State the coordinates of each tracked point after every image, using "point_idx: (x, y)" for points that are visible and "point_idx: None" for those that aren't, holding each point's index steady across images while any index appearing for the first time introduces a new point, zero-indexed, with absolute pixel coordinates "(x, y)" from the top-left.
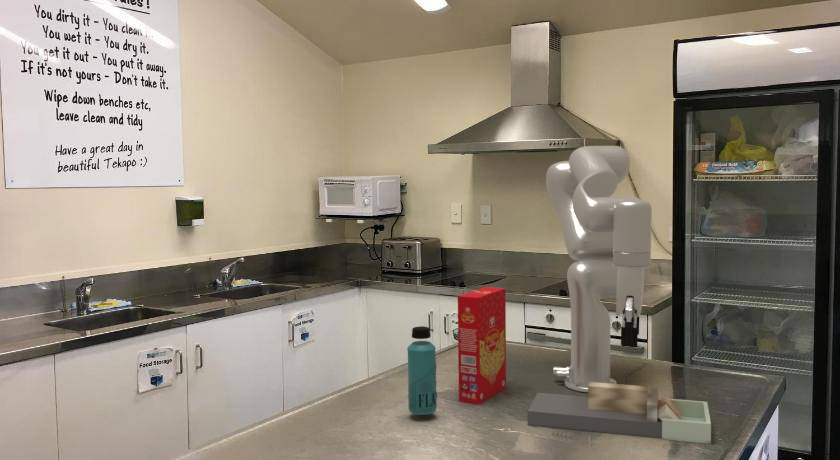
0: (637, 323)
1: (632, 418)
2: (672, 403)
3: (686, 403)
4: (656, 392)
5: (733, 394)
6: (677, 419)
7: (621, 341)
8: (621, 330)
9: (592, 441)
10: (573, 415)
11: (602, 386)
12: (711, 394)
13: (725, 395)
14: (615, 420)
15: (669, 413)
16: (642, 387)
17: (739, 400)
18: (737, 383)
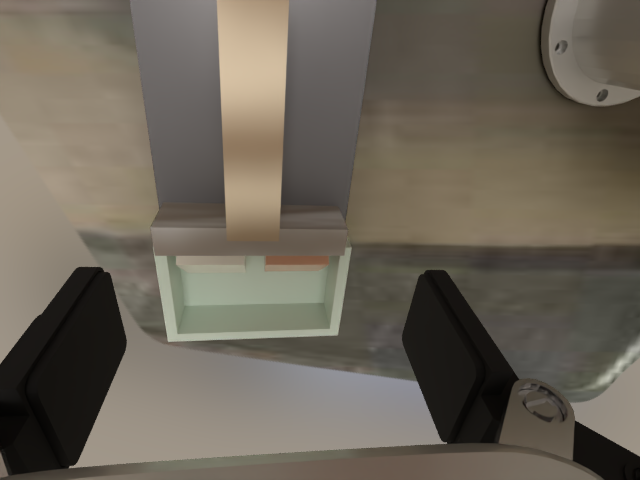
0: (429, 399)
1: (175, 162)
2: (319, 267)
3: (333, 294)
4: (295, 252)
5: (498, 346)
6: (223, 271)
7: (63, 287)
8: (10, 359)
9: (46, 17)
10: None
11: (229, 69)
12: (501, 314)
13: (493, 335)
14: (146, 106)
15: (195, 267)
16: (263, 225)
17: None
18: (565, 353)
